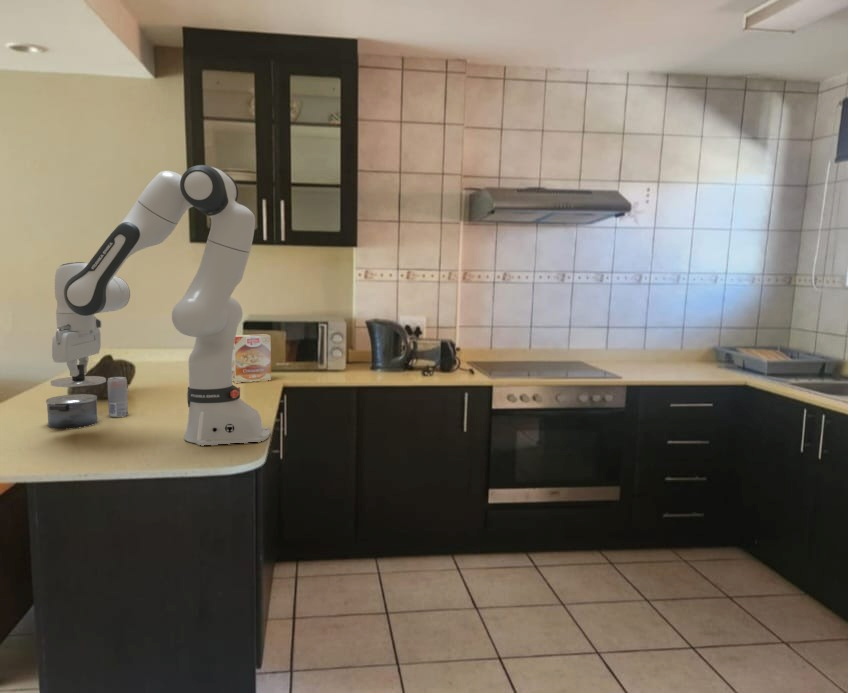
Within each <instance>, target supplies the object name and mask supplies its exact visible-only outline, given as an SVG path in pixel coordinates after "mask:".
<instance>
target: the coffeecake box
mask: <svg viewBox="0 0 848 693" xmlns="http://www.w3.org/2000/svg"><path fill="white" fill-rule="evenodd" d="M271 338H272V337H271V335H270V334H266V333H262V334H236V337H235V342H234V347H233V353H232V380H233V381H234V382H236V383H238V384H240V383H239V382H252V381H263V380H271V381H272V342H271V341H272V339H271ZM233 381H232V382H233ZM234 382H233V383H234ZM236 383H235V384H236ZM252 383H253V382H252Z"/></svg>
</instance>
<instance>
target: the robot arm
mask: <svg viewBox="0 0 848 693" xmlns="http://www.w3.org/2000/svg"><path fill="white" fill-rule="evenodd" d="M238 199H239V188H238V185H237V182H235V180H234V179H233V177H231V176H230V175H229V174H228V173H225V172H224V171H222V170H221V169H219V168H216V167H214V166H210V165H205V164H198V165H194V166H192V167H189V168H188V169H187V170H185V171H184V172H183V174H182V175H181V174H180V173H177V172H175V171H172V170H162V171H159V173H157V174H156V176H155V177H153V178H152V179H151V181H150V182H149V183H147V185H146V187H145V188H144V189H143V190H142V192H141V193H140V194H139V196H138V198H137V199H136V201H135V203H134V204H133V205H132V206H131V209H129V211H128V213H127V214H126V216H125V217H124V218H123V219H122V221H120V223H119V224H118V225H117V226H116V227H115V228H114V230H113V231H112V232H111V233H110V234H109V236H108V237H107V238H106V239H105V240H104V242H103V243H102V245H101V246H100V247H99V248H98V250H97V251H96V253H95V254H94V255H93V256H92V258H91V259H90V261H89V262H83V261H76V262H66V263H64V264H63V263H62V264H61V265H59V266H58V267H57V268H56V270H55V274H54V298H55V300H56V303H57V306H56V310H55V317H56V331H55V333H53V337H52V344H51V359H52V360H53V362H54V363H66V366H67V368H68V370H69V377H76V376H78V375H79V369H78V368H77V365H78V364H83V365H84V369H85V374H86V373H87V372H88V368H87V367H88V364H89V361H90V360H89V359H90V358H89V357H92V356H94V355H97V354H100V350H101V336H102V335H101V330H100V329H101V328H102V321H101V319H99V318H97V317H96V316H95V315H96V314H99V313H100V314H102V313H109V312H115V311H119V310H121V309H123V308H125V307H126V306H127V305H128V304H129V302H130V298H131V290H130V287H129V285H128V284H127V282H126V281H125V280H124V279H123V278H121V277H118V276H116V275H117V273H118V271H119V270H120V269H121V268H122V266H124V264H125V262H126V261H127V260H128V258H130V257H131V256H133V255H134V254H135V253H137V252H140V251H142V250H144V249H146V248H147V249H148V248H149V247H153V246H156V245H160V244H163V242H164V241H166V239H167V238H169V237H170V235H171V234H172V233H173V232H174V230H175V228H176V227H177V225H178V224H179V222H180V221H181V219H182V217H183V216H184V214H185V213H186V212H187V211H188V210H189V209H191V208H193V207H194V208H195V209H197V210H198V211H200V212H201V213H202V214H204V215H205V216H208V217H210V219H211V220H210V221H211V223H210V230H209V234H208V236H207V240H206V243H205V246H204V250H203V254H202V256H201V261H200V264H199V266H198V269H197V271H196V274H195V275H194V277H193V279H192V280H191V283H190V285H188V288H187V289H186V291H185V293H184V295H183V296H182V298H180V299H179V301H178V302H177V303H175V305H174V307H173V309H172V312H171V321H172V324H173V327H174V328H175V329H176V330H177V332H179V333H180V334H182V335H184V336H188V337H193V338H195V342H194V346H193V349H192V351H191V353H190V355H189V357H188V383H189V384H188V385H189V386H188V387H187V394H186V396H187V397H186V398H187V399H186V401H187V406H188V417H187V425H186V430H185V434H184V438H183V439H184V440H185V441H187V442H188V443H192V444H193V443H194V444H196V445H198V446H200V445H201V447H205V446H204V445H211V446H219V445H218V444H228V445H231V444H230V443H244V444H248V443H247V442H258V443H261V441H262V442H264V441H266V440H267V439H268V438H270V435H271V430H270V428H269V427H266V426H263V422H262V418H261V414H260V412H259V411H258V410H257V409H256V408H254V407H252V406H251V405H249V404H248V403H246V401H244V400H243V399H241V387H240V386H238V387H237V386H236V385H233V381H232V353H233V347H234V342H235V337H236V335H237V331H238V327H239V324H240V323H241V321H242V318H243V309H242V306H241V304H240V302H239V301H238V300H236V298H233V297H231V296H232V294H233V293H234V290H235V289H236V287H237V286H238V285H239V284H240V283H241V281H242V279H243V276H244V274H245V270H246V266H247V263H248V259H249V256H250V253H251V250H252V245H253V241H254V234H255V230H256V229H255V227H256V217H255V215H254V213H253V212H252V210H250V209H249V208H248V207H247V206H245V205H243V204H240V203H238Z"/></svg>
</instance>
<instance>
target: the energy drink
mask: <svg viewBox="0 0 848 693" xmlns="http://www.w3.org/2000/svg"><path fill="white" fill-rule="evenodd" d="M106 382H107V400H108V401H107V402H108V404H107V405H108V416H109V418H112V417H120V418H123V417H122V416H125V417H127V416H128V415H129V406H128V405H129V402H128V400H129V399H128V380H127V377H126V376H112V377H108V378H107V380H106ZM126 415H127V416H126Z"/></svg>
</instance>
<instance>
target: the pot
mask: <svg viewBox="0 0 848 693" xmlns="http://www.w3.org/2000/svg"><path fill="white" fill-rule="evenodd" d="M97 399H98V395H96V394H89V393H87V394H86V393H76V394H67V395H66V394H64V395H58V396H53V397H49V398H47V399H46V400H45V403H46V405H47V406H46V409H47V427H48V426H49V427H48V428H50V429H53V428H55V429H54V430H70V429H69V428H73V429H80V428H79V427H81V428H85V427H84V426H86V427H90V426H89V425H91V426H93V425H92V424H94V425H96V424H98V407H97V406H98V405H97V404H98V403H97V402H98V401H97ZM95 423H96V424H95ZM66 428H68V429H66Z"/></svg>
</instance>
